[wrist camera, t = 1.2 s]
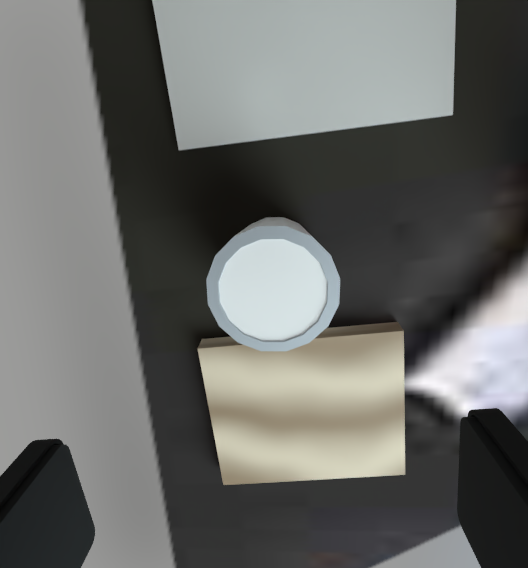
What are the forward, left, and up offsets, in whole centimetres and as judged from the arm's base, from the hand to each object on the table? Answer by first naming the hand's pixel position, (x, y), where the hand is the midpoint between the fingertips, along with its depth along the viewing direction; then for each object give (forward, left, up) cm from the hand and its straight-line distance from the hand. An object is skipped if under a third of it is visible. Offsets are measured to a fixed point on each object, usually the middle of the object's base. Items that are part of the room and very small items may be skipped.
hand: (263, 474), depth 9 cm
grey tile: (-14, +3, -18) cm, 23 cm away
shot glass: (-1, 0, -19) cm, 18 cm away
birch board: (+11, +1, -18) cm, 21 cm away
